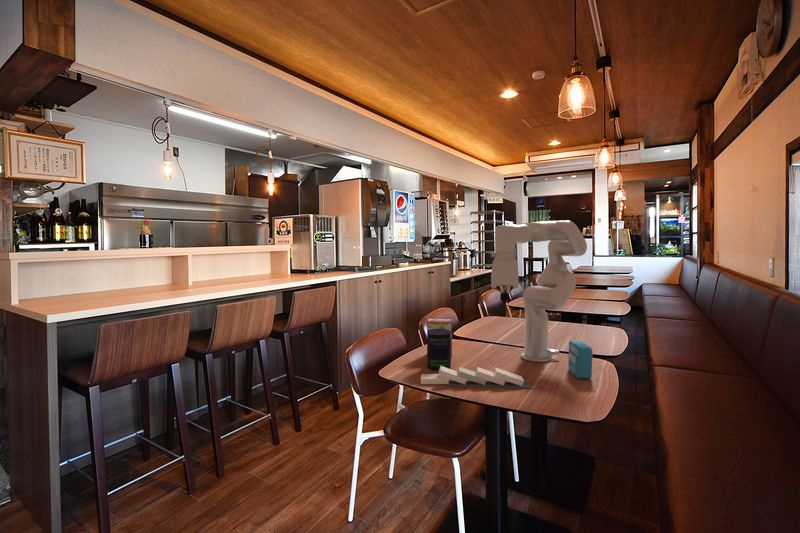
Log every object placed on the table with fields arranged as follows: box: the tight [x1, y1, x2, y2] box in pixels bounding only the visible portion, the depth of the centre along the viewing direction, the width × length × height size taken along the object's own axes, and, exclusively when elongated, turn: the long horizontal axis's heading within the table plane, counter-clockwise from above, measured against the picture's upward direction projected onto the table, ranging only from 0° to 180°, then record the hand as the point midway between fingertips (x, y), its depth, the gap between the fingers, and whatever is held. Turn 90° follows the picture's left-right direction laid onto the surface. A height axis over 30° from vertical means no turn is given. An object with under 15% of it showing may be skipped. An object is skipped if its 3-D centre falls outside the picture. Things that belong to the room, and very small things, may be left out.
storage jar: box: [426, 329, 452, 372], centre depth 166 cm, size 10×10×15 cm
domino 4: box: [492, 367, 525, 386], centre depth 146 cm, size 2×5×10 cm
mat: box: [446, 379, 533, 390], centre depth 147 cm, size 30×7×1 cm, turn 84°
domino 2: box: [438, 366, 467, 384], centre depth 148 cm, size 2×5×10 cm
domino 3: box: [474, 366, 505, 386], centre depth 147 cm, size 2×5×10 cm
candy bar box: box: [426, 318, 453, 358], centre depth 181 cm, size 11×5×16 cm, turn 84°
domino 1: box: [420, 373, 449, 385], centre depth 149 cm, size 2×5×10 cm
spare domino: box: [457, 366, 486, 385], centre depth 148 cm, size 2×5×10 cm
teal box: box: [567, 340, 593, 380], centre depth 156 cm, size 12×4×12 cm, turn 176°
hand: (504, 302), depth 161 cm, fingers closed
